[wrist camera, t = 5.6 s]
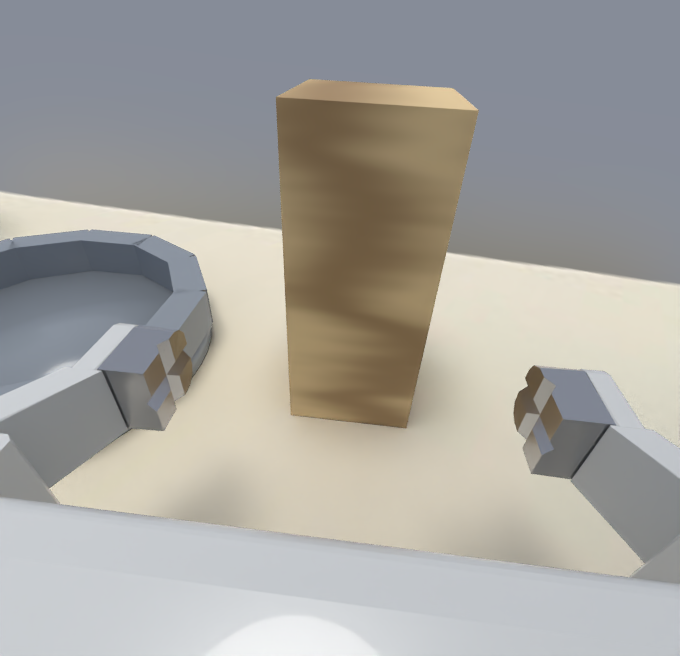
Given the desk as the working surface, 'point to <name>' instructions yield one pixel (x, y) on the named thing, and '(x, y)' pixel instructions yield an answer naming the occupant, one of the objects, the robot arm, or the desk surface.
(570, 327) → the desk surface
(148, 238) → the bowl
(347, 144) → the oak block
